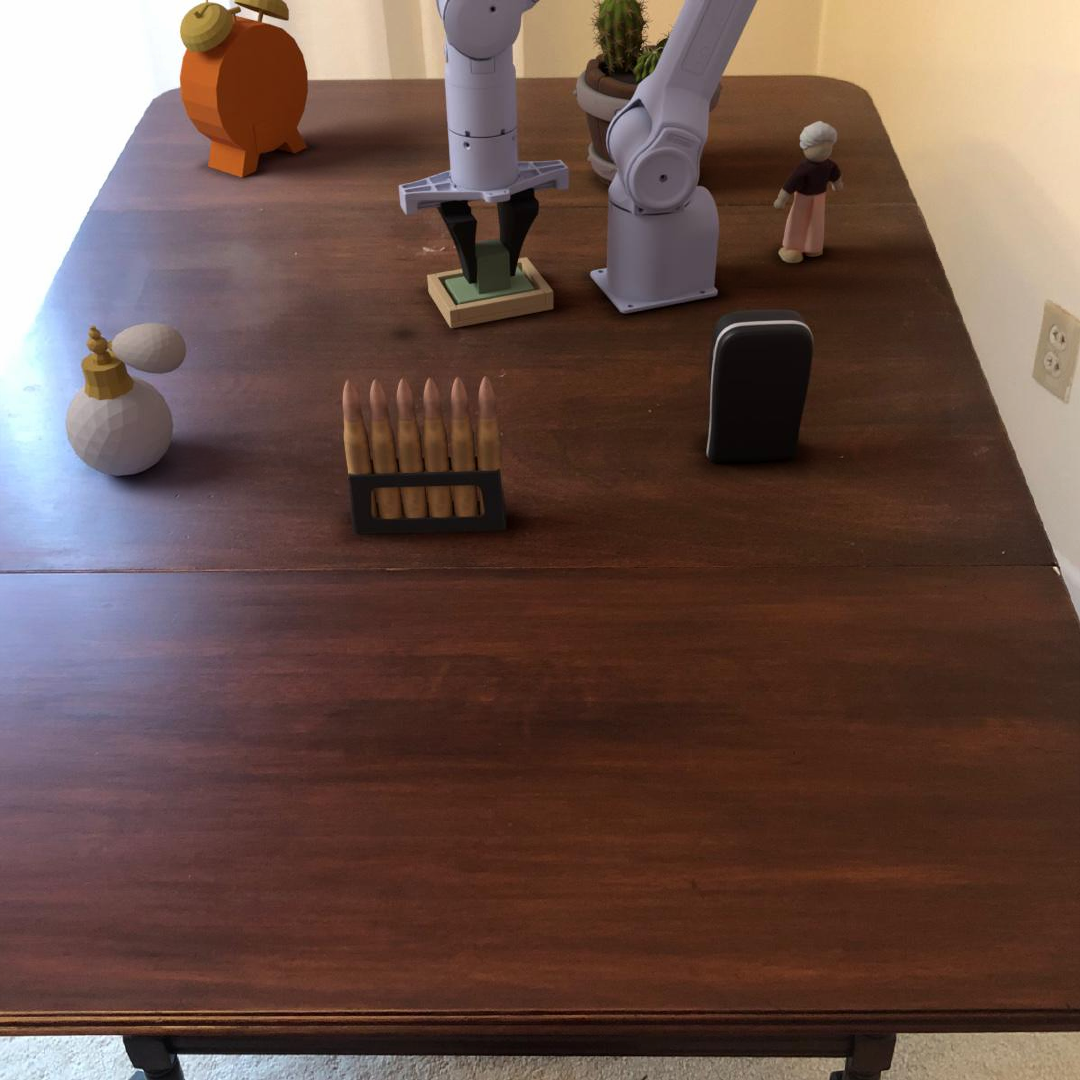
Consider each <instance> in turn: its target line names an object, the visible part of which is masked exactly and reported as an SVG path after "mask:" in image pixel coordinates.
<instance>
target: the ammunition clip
mask: <svg viewBox="0 0 1080 1080" xmlns="http://www.w3.org/2000/svg"><path fill="white" fill-rule="evenodd" d="M396 391H397V392H396V433H394V430H393V426H392V423H391V419H390V418H391V417H390V413H389V407H388V406H389V405H388V401H387V397H386V393H385V391H384V389H383V387H382V385H381V382H380V381H379V380H378V379H377V378H375V379H374V380H373V381H372V383H371V386H370V392H369V413H370V414H369V415H370V417H369V420H370V431H369V433H368V430H367V429H366V425H365V421H364V416H363V412H362V406H361V401H360V397H359V393H358V392H357V389H356V387H355V385H354V383H353V382H352V380H350V379H347V380H346V381H345V384H344V387H343V393H342V411H343V427H344V429H343V443H344V451H345V458H346V466H347V473H348V475H347V477H348V487H349V489H348V490H349V503H350V513H351V526H352V527H351V528H352V533H354V534H355V535H375V534H378V535H379V534H410V533H411V534H412V533H414V534H415V533H416V534H417V533H446V532H447V533H448V532H483V531H484V532H485V531H486V532H487V531H505V530H506V529H507V509H506V499H505V490H504V477H503V476H504V475H503V457H502V456H503V455H502V454H503V453H502V436H501V435H502V434H501V429H500V426H499V422H498V421H499V420H498V413H497V401H496V396H495V392H494V388H493V385H492V383H491V380H490V379H489V377H488V376H486V375H485V376H483V378H482V380H481V382H480V386H479V390H478V398H477V427H476V432H475V434H474V430H473V429H474V428H473V426H472V422H471V414H470V407H469V400H468V394H467V391H466V387H465V385H464V383H463V380H462V379H461V377H459V376H456V377H455V379H454V381H453V384H452V388H451V393H450V427H449V435H448V433H447V431H446V426H445V423H444V416H443V410H442V403H441V398H440V393H439V390H438V388H437V385H436V383H435V381H434V379H433V378H432V377H428V378H427V380H426V382H425V385H424V390H423V400H422V408H423V415H422V416H423V428H422V434H421V432H420V428H419V425H418V419H417V414H416V407H415V402H414V398H413V394H412V393H413V392H412V391H411V388H410V385H409V383H408V382H407V380H406V379H405V378H400V381H399V383H398V387H397V390H396ZM421 435H422V436H421ZM475 436H476V438H475ZM395 437H396V438H395ZM448 437H449V438H448ZM369 439H370V441H369ZM448 439H449V443H448ZM475 439H476V447H475ZM449 452H450V453H449ZM449 454H450V455H449Z"/></svg>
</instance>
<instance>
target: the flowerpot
mask: <svg viewBox="0 0 1080 1080" xmlns="http://www.w3.org/2000/svg"><path fill="white" fill-rule="evenodd" d="M592 2H593V3H594V4H595V5H594V6H593V8H595V9H596V10H597V11H595V12H594V13H592V15H593V17H594V18H593V17H589V18H590V19H591V23H590V24H588V26H591V27H592V26H593V29H592V31H595V30H597V33H594V34H595V35H594V36H595V37H594V36H593V37H592V38H591V40H593V39H595V40H594V44H595V45H594V46H593V48H595V47H597V46H599V51H598V55H596V56H595V58H591V59H589V60H588V62H587V64H586V68H585V69H584V70H583V71H582V72H581V73H580V75H579V76H578V77H577V80H576V84H575V89H574V90H573V93H572V94H573V95H574V97H576V101H577V104H578V106H579V107H580V109H582V111H585V116H586V121H587V126H588V130H589V134H590V139H591V143H590V144H589V146H588V156H587V162H588V163H590V165H591V167H592V169H593V171H594V172H595V173H596V175H597V177H598V179H599V181H600V182H601V183H602V184H603V185H606V186H607V187H608V188H609V187H610V185H611V183H612V181H613V180H614V177H615V175H616V172H617V166H616V164H615V163H614V161H613V160H612V158H611V157H610V155H609V153H608V149H607V144H606V136H607V131H608V128H609V125H610V123H611V121H612V120H613V118H614V117H615V116H616V114H617V113H618V112H619V111H621V110H622V109H623V108H624V107H625V106H626V105H627V104H628V103H629V102H630V100H631V99H632V98H633V96H634V94H635V91H636V89H637V87H638V85H639V83H640V82H642V81H643V80H644V79H645V78H647V77H648V76H649V75H650V74H652V73H653V72H654V70H655V68H656V66H657V64H658V61H659V59H660V57H661V54H662V52H663V50H664V48H665V45H666V43H667V41H668V38H669V36H670V34H671V32H672V29H671V30H670V31H669V30H668V31H667V34H665V33H661V35H664V36H663V38H662V37H660V38H659V39H658V40H657V42H656V45H655V44H654V43H652V42H651V41H648V37H649V35H648V34H649V33H648V32H647V30H645V29H648V30H649V29H650V26H649V25H648V24H649V23H652V22H653V21H654V20H651V18H649V17H650V16H649V13H648V12H647V11H645V14H644V10H645V9H647V5H644V4H645V3H649V1H645V0H643V1H640V0H601V1H596V2H595V1H594V0H592ZM596 13H597V14H596ZM643 14H644V15H643ZM646 15H648V16H647V17H646ZM645 17H646V19H645ZM595 21H596V22H595ZM668 26H671V27H672V28H673V27H674V25H671V24H669V23H668ZM645 34H646V35H645ZM722 90H723V85H722V83H721V80H720V81H719V83H718V86H717V88H716V90H715V92H714V94H713V96H712V98H711V101H710V105H709V114H710V113H711V112H713V111H714V110H715V108H716V107H717V106H718V103H719V101H720V96H721V91H722ZM703 154H704V148H703V149H702V152H701V155H700V161H699V165H700V163H701V161H702V158H703Z"/></svg>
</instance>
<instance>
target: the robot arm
mask: <svg viewBox="0 0 1080 1080" xmlns="http://www.w3.org/2000/svg"><path fill="white" fill-rule="evenodd" d="M539 1H540V0H435V3H436V4H435V5H436V8H437V12H438V14H439V17H440V19H441V21H442V25H443V29H444V32H445V35H444V37H445V43H444V47H443V56H444V60H445V63H446V64H445V67H444V70H443V71H444V73H443V74H444V75H443V76H444V86H445V87H444V90H445V105H446V106H445V107H446V121H447V123H446V124H447V136H448V152H449V168H450V169H449V170H446V171H443V172H440V173H437V174H434V175H431V176H428V177H425V178H422V179H419V180H416V181H413V182H408V183H403V184H398V192H399V193H398V194H399V205H400V206H399V207H400V208H401V209H402V211H403V213H404V214H405V216H413V215H418V213H419V211H422V210H429V209H434V208H436V210H437V211H438V213H439V215H440V217H441V218H442V221H443V223H444V224H445V226H446V228H447V231H448V233H449V235H450V238H451V239H452V241H453V244H454V247H455V249H456V252H457V255H458V259H459V262H460V266H461V269H462V272H463V276H464V277H465V279H466V280H467V282H468V283H469V284H473V283H477V265H476V256H475V242H476V241H477V240H476V239H477V238H476V237H477V228H478V227H477V226H478V220H477V218H476V217H475V215H474V214H473V213H472V207H471V206H470V205H469V203H471V202H476V201H485V202H486V203H487V204H496V207H497V217H498V225H499V239H500V241H501V242H502V243H503V245H504V246H505V247H506V249H507V250H508V251H509V255H510V277H512V276H515V274H516V268H517V263H518V259H519V258H520V255H521V252H522V248H523V245H524V242H525V240H526V237H527V235H528V233H529V231H530V229H531V227H532V225H533V223H534V221H536V219H537V217H538V215H539V212H540V201H539V200H538V199H537V198H536V196H535V192H539V191H544V190H545V191H546V190H550V189H551V190H552V189H555V190H556V191H565V190H569V188H570V187H569V185H570V184H569V183H570V181H569V179H570V173H569V172H570V169H569V166H567V164H566V163H564V162H563V160H562V159H555V160H543V161H542V160H541V161H519V150H518V149H519V146H518V143H519V142H518V110H517V109H518V107H517V105H518V104H517V70H516V65H515V64H514V46H513V45H514V44H515V43H516V41H517V39H518V37H519V34H520V31H521V27H522V16H523V13H525V12H527V11H530V10H531V9H533V8H534V7H535V6H536V5H537V3H539ZM757 2H758V0H684V2H683V4H682V6H681V8H680V11H679V13H678V16H677V18H676V20H675V23H674V25H673V27H672V29H671V30H672V31H670V32H671V33H669V34H670V36H669V38H668V41H667V43H666V45H665V48H664V50H663V52H662V54H661V57H660V59H659V61H658V64H657V66H656V68H655V70H654V72H653V73H652V74H650V75H649V76H648V77H647V78H645V79H644V80H643V81H642V82H640V83H639V85H638V87H637V89H636V91H635V94H634V96H633V98H632V99H631V100H630V102H629V103H628V104H627V105H626V106H625V107H624V108H623V109H622V110H621V111H619V112H618V113H617V114H616V116H615V117H614V118H613V120H612V121H611V123H610V125H609V128H608V131H607V136H606V144H607V149H608V153H609V155H610V157H611V158H612V160H613V161H614V163H615V164H616V166H617V172H616V175H615V177H614V180H613V181H612V183H611V185H610V187H608V192H607V193H608V195H607V196H608V198H607V233H606V234H607V235H606V236H607V238H606V239H607V240H606V241H607V242H606V267H604V268H599V269H594V270H591V271H590V274H589V277H590V278H591V279H592V280H593V282H595V284H596V285H597V286H598V287H599V288H600V290H601V291H602V292H603V293H604V294H605V295H606V297H607V298H608V299H609V300H610V301H611V303H612V304H613V305H614V306H615V308H617V310H618V311H619V312H620V313H622V314H631V313H632V314H633V313H636V312H642V311H646V310H651V309H656V308H662V307H667V306H672V305H677V304H683V303H689V302H692V301H697V300H702V299H703V300H704V299H708V298H712V297H716V296H718V289H717V287H715V283H716V282H715V281H716V271H717V256H718V246H719V234H720V220H719V219H720V218H719V213H718V208H717V204H716V202H715V199H714V197H713V195H712V194H711V192H710V191H709V190H708V189H707V188H706V187H704V186H703V185H698V183H699V180H700V174H701V173H700V164H699V161H700V155H701V152H702V149H703V150H704V147H705V145H706V143H707V141H708V135H709V121H710V120H709V119H710V118H709V117H710V113H709V105H710V101H711V98H712V96H713V94H714V92H715V90H716V88H717V86H718V83H719V81H720V82H721V79H722V77H723V75H724V73H725V71H726V68H727V66H728V64H729V62H730V60H731V58H732V56H733V53H734V51H735V49H736V47H737V45H738V43H739V41H740V39H741V36H742V34H743V32H744V30H745V29H746V26H747V24H748V21H749V19H750V18H751V15H752V13H753V11H754V8H755V7H756V5H757ZM700 162H701V161H700Z"/></svg>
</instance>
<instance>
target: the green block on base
mask: <svg viewBox="0 0 1080 1080" xmlns="http://www.w3.org/2000/svg"><path fill="white" fill-rule="evenodd" d="M475 256H476V265H477V283H473V284H469V283H468V282H467V280H466V279H465V277H464V276H463V277H458V278H452V279H447V280H445V284H446V290H447V292H448V293H449V295H450V296H451V298H452V299H453V301H454V303H455V304H456V305H460V304H466V303H471V302H476V301H482V300H487V299H492V298H498V297H503V296H508V295H514V294H519V293H524V292H530V291H534V287H533V286H532V285H531V283H530V282H529V281H528V279H527V278H526V277H525V275H524V274H523V273H522V271H521V270H520V269H519V267H517V268H516V274H515V276H512V277H510V255H509V251H508V250H507V249H506V247H505V246H504V245H503V243H502V242H501V241H500V237H499V238H491V239H486V240H481V241H475Z"/></svg>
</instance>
